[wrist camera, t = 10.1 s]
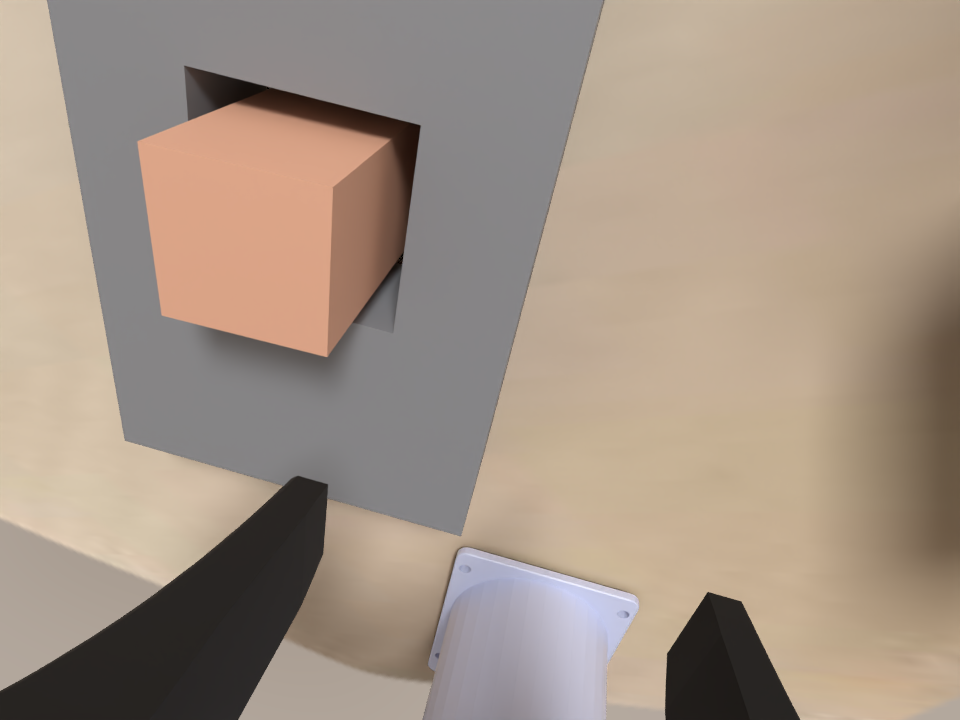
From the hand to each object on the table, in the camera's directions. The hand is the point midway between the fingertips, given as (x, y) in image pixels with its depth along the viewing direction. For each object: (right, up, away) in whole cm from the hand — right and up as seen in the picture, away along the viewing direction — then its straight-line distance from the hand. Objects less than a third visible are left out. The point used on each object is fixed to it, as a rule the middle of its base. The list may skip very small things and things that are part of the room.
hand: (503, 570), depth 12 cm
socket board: (-4, +10, +7) cm, 13 cm away
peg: (-4, +10, +7) cm, 13 cm away
